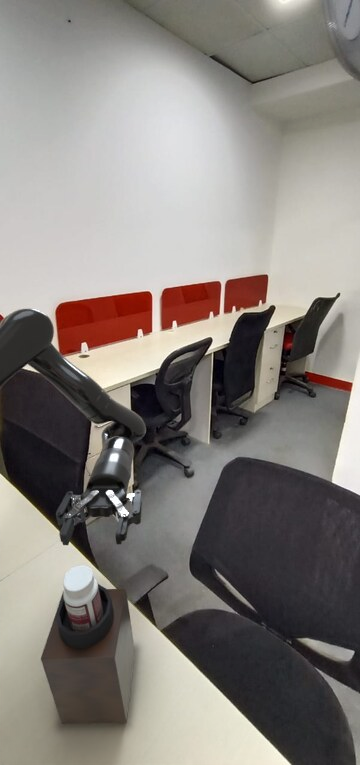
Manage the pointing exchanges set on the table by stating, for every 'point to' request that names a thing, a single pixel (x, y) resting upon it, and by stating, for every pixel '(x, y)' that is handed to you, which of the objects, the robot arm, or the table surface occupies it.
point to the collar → (90, 635)
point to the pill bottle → (82, 598)
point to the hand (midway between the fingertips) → (91, 541)
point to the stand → (93, 671)
